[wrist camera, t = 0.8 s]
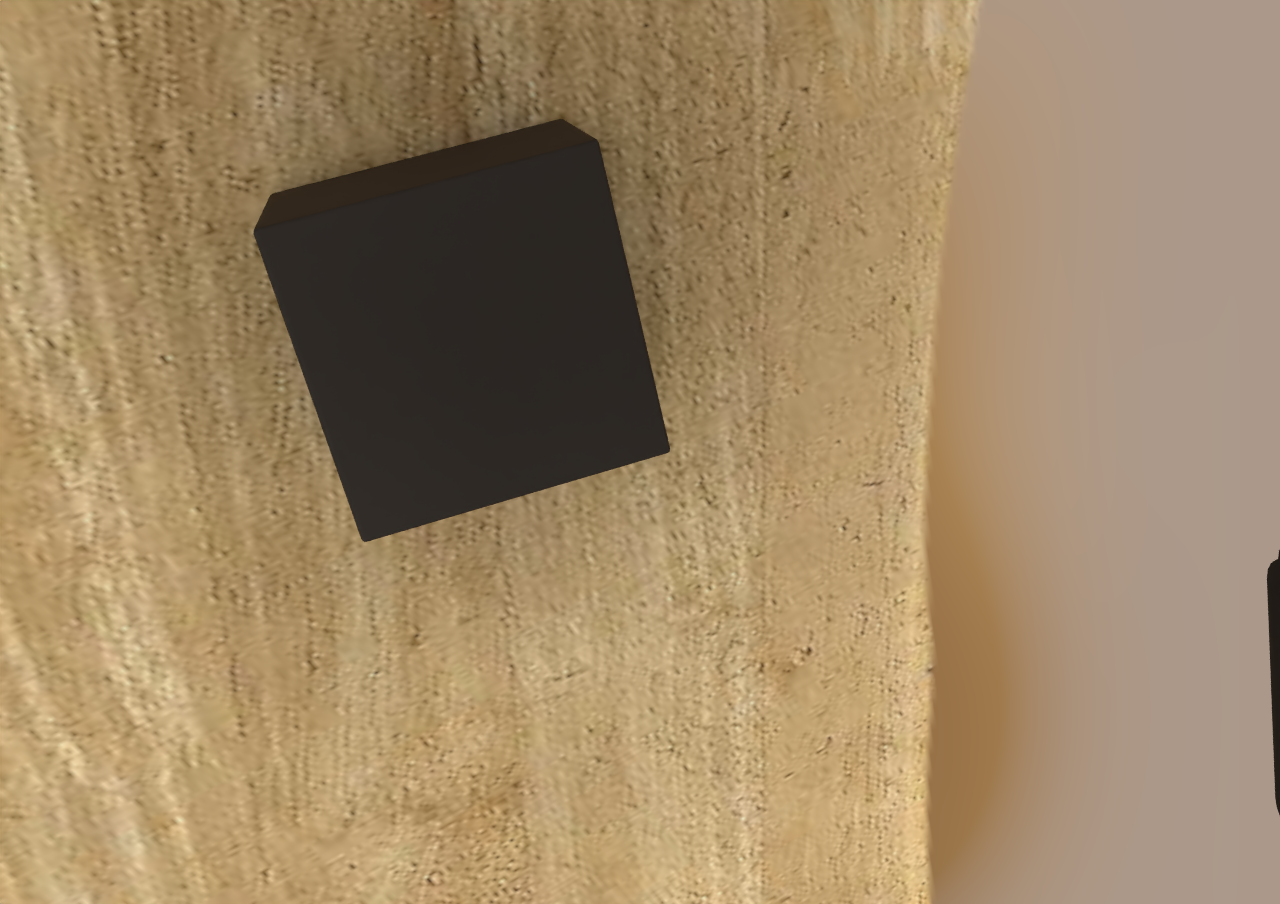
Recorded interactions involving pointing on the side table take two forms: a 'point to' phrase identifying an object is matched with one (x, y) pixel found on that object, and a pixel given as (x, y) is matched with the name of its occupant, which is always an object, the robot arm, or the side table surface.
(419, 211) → the loose pad
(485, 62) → the side table surface
